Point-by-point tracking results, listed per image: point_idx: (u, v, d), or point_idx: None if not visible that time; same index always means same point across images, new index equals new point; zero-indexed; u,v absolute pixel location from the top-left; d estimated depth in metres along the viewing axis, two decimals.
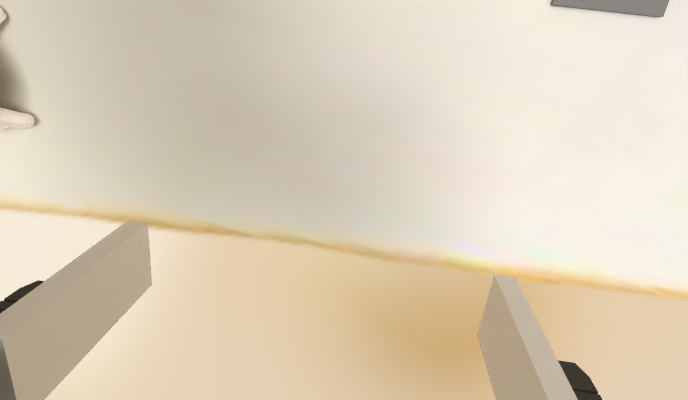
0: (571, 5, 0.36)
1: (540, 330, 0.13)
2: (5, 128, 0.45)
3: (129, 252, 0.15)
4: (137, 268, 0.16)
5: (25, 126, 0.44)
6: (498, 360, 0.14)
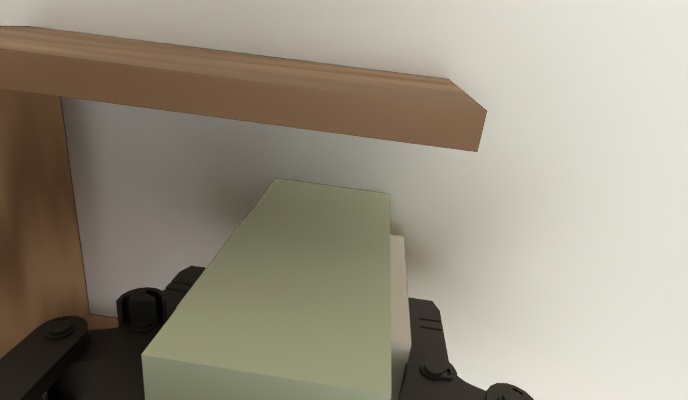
0: None
1: (404, 274, 0.15)
2: None
3: None
4: None
5: None
6: None
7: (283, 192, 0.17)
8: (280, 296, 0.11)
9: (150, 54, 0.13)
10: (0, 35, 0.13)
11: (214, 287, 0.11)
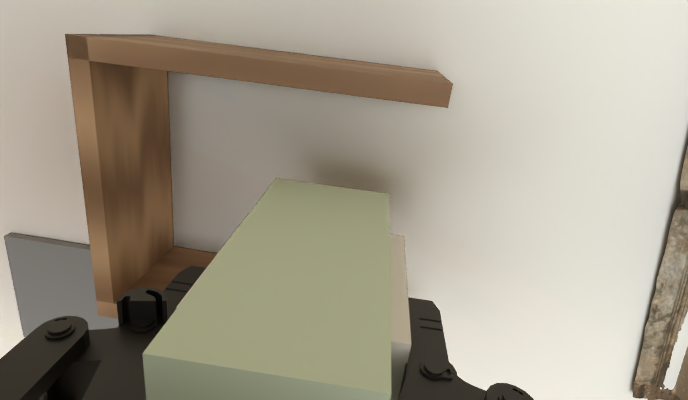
0: None
1: (404, 274, 0.15)
2: None
3: None
4: None
5: None
6: None
7: (283, 192, 0.17)
8: (280, 296, 0.11)
9: (248, 52, 0.21)
10: (155, 41, 0.21)
11: (215, 286, 0.11)
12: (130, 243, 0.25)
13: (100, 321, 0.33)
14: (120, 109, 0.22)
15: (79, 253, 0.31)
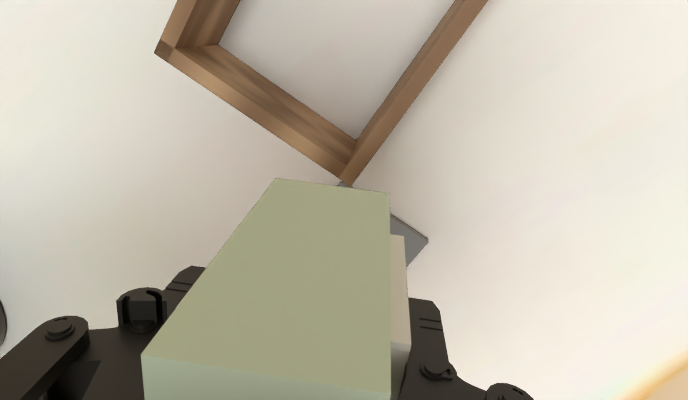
0: None
1: (404, 274, 0.15)
2: None
3: None
4: None
5: None
6: None
7: (283, 192, 0.17)
8: (280, 296, 0.11)
9: None
10: None
11: (214, 287, 0.11)
12: (316, 135, 0.30)
13: None
14: (221, 69, 0.29)
15: None
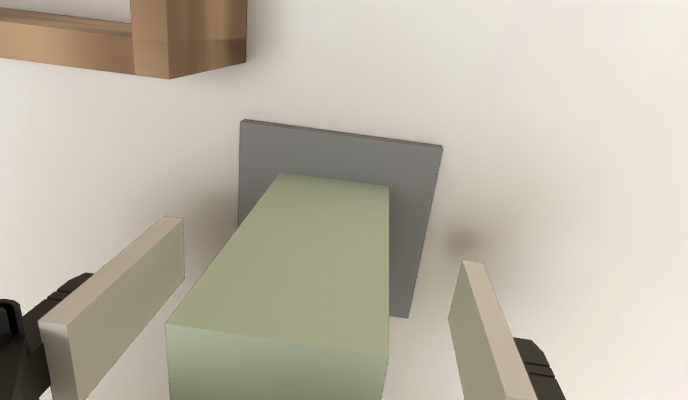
0: (411, 293, 0.21)
1: (499, 309, 0.13)
2: None
3: (167, 246, 0.16)
4: (173, 262, 0.16)
5: None
6: (463, 339, 0.14)
7: (288, 185, 0.18)
8: (287, 275, 0.12)
9: None
10: None
11: (227, 267, 0.12)
12: (82, 26, 0.14)
13: None
14: None
15: (246, 191, 0.20)
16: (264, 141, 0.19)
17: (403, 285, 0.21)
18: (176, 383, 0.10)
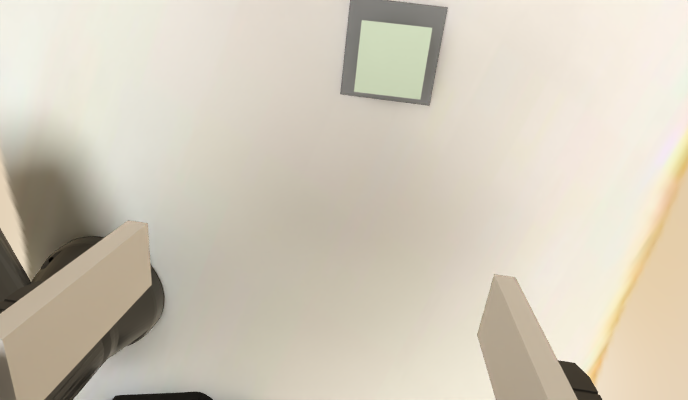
0: (431, 90, 0.42)
1: (540, 330, 0.13)
2: None
3: (129, 252, 0.15)
4: (137, 268, 0.16)
5: None
6: (499, 360, 0.14)
7: None
8: None
9: None
10: None
11: None
12: None
13: None
14: None
15: (350, 34, 0.41)
16: (361, 6, 0.40)
17: (427, 85, 0.42)
18: (361, 46, 0.31)
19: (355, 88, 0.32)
